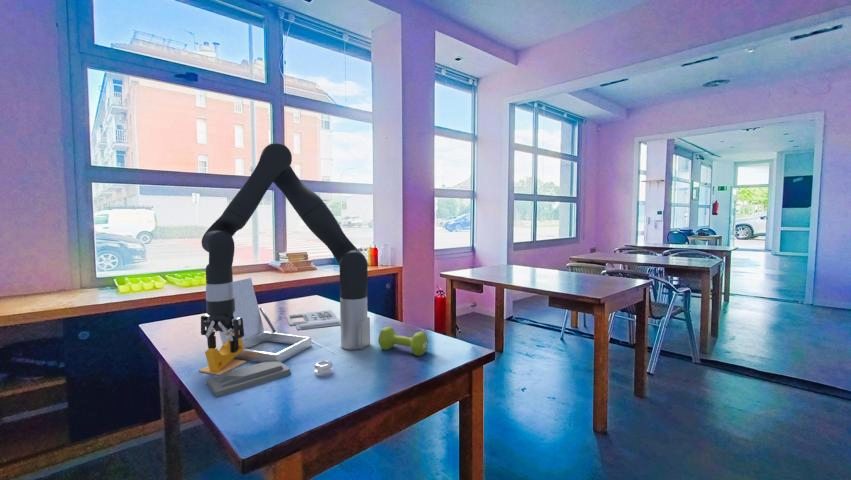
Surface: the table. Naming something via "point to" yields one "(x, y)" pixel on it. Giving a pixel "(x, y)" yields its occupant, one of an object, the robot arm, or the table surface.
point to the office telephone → (315, 320)
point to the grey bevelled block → (246, 377)
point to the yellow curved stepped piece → (221, 355)
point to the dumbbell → (403, 340)
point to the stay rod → (267, 319)
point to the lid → (245, 309)
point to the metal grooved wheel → (323, 368)
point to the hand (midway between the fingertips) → (223, 350)
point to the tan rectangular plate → (226, 368)
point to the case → (260, 356)
